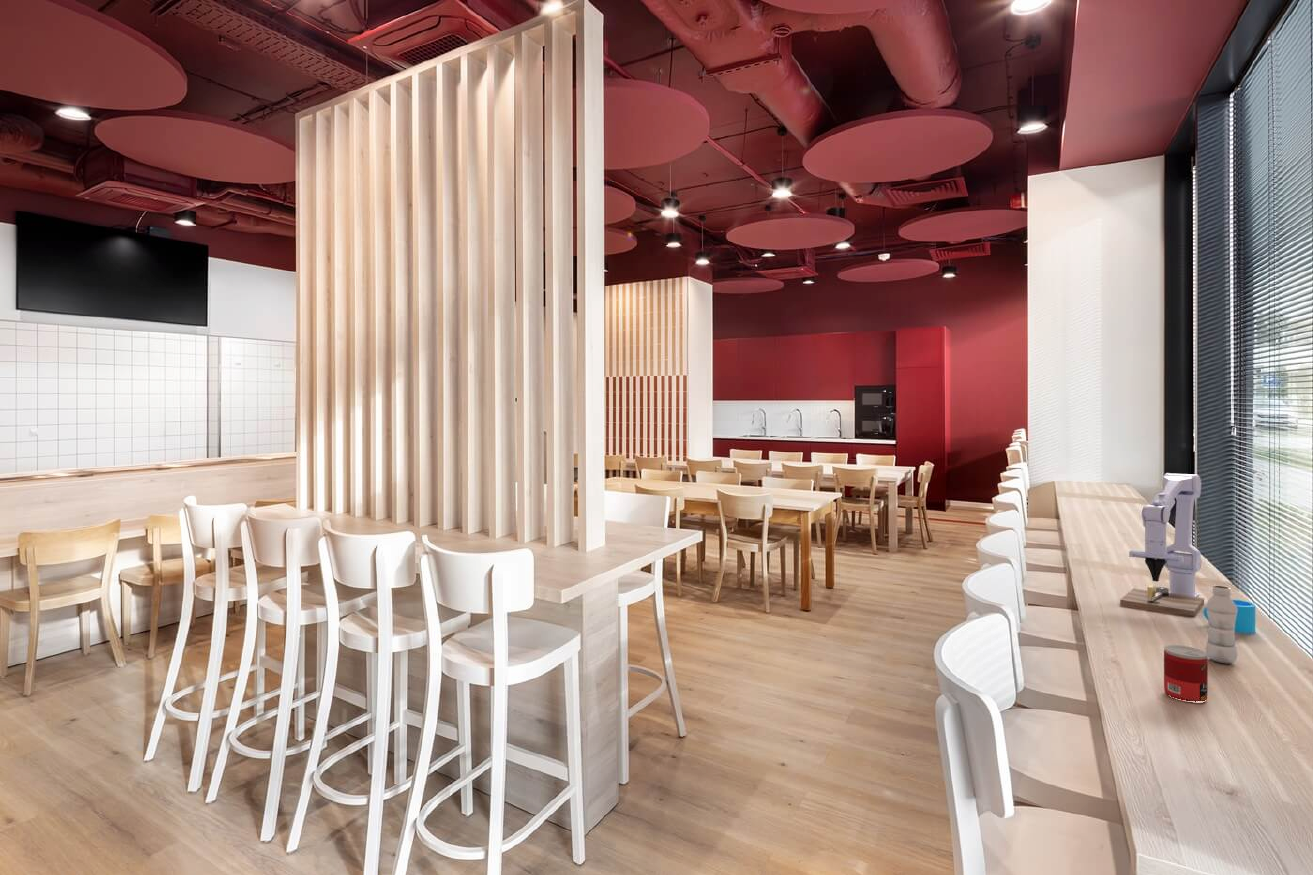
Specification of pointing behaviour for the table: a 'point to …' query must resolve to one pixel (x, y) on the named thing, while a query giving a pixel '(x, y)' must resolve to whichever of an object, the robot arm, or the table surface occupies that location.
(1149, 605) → the hole plate
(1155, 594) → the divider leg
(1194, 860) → the table surface
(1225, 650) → the plastic bottle
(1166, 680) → the canned food
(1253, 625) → the mug
